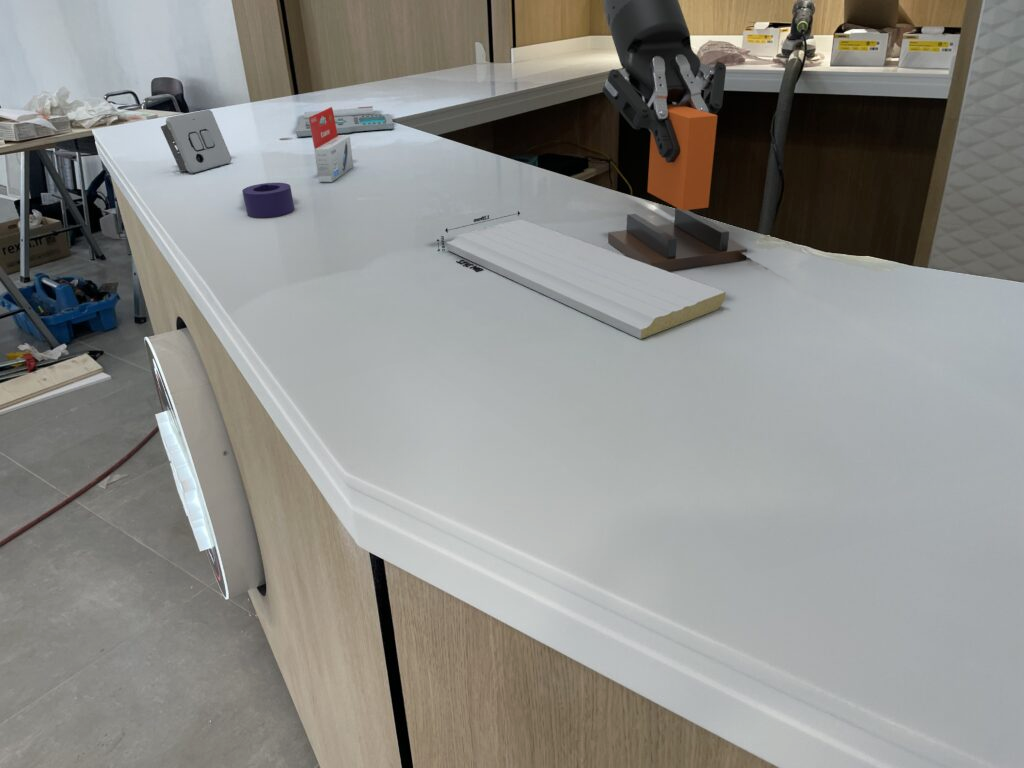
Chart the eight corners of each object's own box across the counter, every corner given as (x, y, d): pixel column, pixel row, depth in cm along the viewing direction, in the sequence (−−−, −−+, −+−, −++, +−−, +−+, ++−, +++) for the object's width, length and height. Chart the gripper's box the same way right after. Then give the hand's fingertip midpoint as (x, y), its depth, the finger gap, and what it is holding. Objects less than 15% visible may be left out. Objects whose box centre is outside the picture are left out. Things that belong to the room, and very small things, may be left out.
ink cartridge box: (354, 166, 124) (346, 105, 119) (333, 183, 114) (323, 117, 110) (340, 167, 124) (331, 106, 119) (317, 183, 115) (307, 117, 110)
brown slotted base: (694, 231, 86) (696, 204, 85) (745, 260, 77) (749, 230, 75) (607, 242, 84) (608, 215, 82) (650, 274, 74) (652, 243, 73)
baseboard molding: (628, 344, 60) (723, 307, 66) (629, 312, 59) (727, 277, 65) (435, 253, 83) (520, 231, 89) (433, 227, 81) (519, 207, 87)
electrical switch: (192, 174, 123) (174, 117, 119) (171, 175, 125) (153, 118, 121) (233, 163, 130) (218, 108, 126) (213, 164, 133) (198, 110, 128)
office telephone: (299, 109, 168) (386, 103, 172) (301, 121, 169) (387, 115, 173) (294, 124, 148) (393, 117, 151) (296, 137, 149) (394, 130, 153)
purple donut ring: (298, 213, 99) (294, 189, 98) (250, 220, 97) (245, 196, 96) (282, 194, 109) (278, 172, 108) (238, 200, 107) (233, 178, 105)
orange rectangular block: (671, 189, 81) (678, 103, 77) (708, 207, 75) (717, 115, 70) (647, 192, 81) (652, 106, 76) (682, 210, 74) (690, 117, 70)
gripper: (592, -9, 73) (639, 140, 68) (718, -15, 76) (770, 127, 72) (573, 46, 80) (614, 184, 75) (688, 39, 83) (734, 170, 79)
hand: (690, 155), depth 74 cm, fingers closed on orange rectangular block, 3 cm apart
